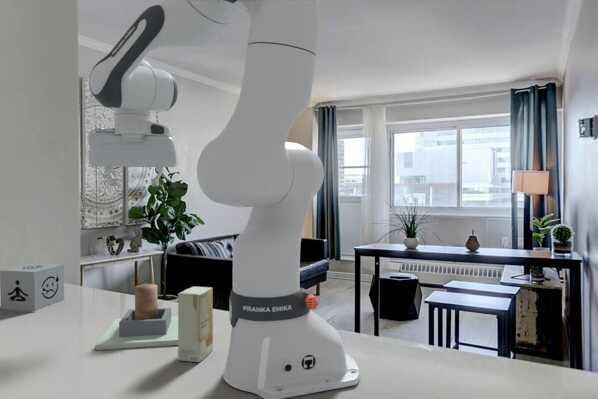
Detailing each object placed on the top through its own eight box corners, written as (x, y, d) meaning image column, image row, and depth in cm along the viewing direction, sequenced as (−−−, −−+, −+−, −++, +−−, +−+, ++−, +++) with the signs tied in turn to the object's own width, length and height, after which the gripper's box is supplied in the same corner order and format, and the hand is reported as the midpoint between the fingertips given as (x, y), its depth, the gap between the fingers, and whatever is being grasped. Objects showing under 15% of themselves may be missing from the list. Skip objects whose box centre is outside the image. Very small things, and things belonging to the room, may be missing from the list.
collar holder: (188, 319, 102) (188, 302, 102) (182, 344, 86) (182, 324, 86) (115, 323, 99) (115, 305, 99) (95, 349, 84) (95, 329, 83)
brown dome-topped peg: (159, 324, 95) (158, 283, 95) (156, 331, 91) (155, 288, 91) (137, 325, 95) (137, 284, 94) (133, 332, 90) (132, 289, 90)
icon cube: (32, 299, 120) (31, 263, 120) (64, 301, 118) (63, 264, 118) (0, 309, 110) (-1, 270, 110) (35, 312, 108) (34, 272, 108)
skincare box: (199, 363, 77) (199, 294, 77) (177, 361, 78) (176, 293, 78) (214, 349, 84) (213, 286, 83) (192, 348, 85) (192, 285, 84)
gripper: (84, 126, 101) (85, 186, 102) (175, 128, 105) (176, 186, 105) (92, 129, 107) (92, 185, 108) (178, 131, 111) (178, 185, 111)
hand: (134, 185), depth 107 cm, fingers open, 8 cm apart
